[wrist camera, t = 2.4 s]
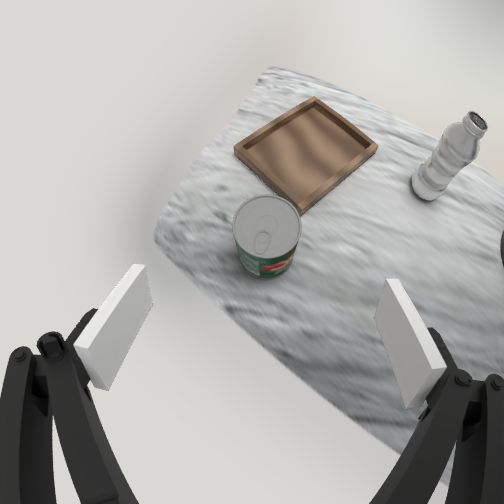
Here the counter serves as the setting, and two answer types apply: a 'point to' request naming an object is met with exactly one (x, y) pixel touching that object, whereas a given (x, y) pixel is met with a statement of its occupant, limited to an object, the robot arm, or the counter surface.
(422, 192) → the plastic bottle
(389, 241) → the counter surface
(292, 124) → the walnut tray
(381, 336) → the robot arm
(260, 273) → the canned tomato
